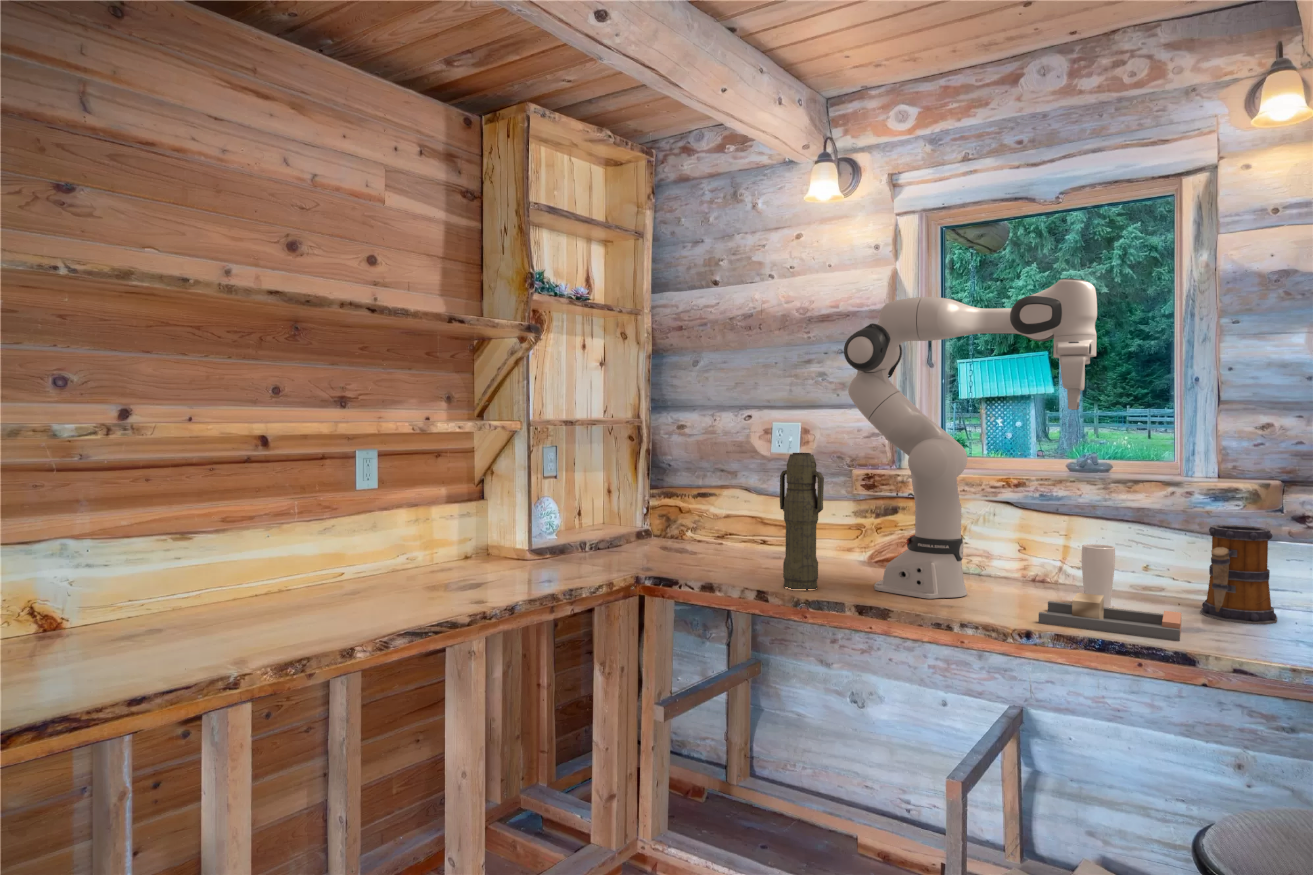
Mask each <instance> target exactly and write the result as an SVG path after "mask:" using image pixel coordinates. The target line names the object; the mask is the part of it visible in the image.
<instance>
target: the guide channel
mask: <svg viewBox="0 0 1313 875" xmlns="http://www.w3.org/2000/svg"><path fill="white" fill-rule="evenodd" d="M1038 624H1044V625H1052V626H1058V627H1059V626H1060V627H1067V628H1074V629H1075V628H1076V629H1083V630H1091V631H1100V632H1106V633H1112V634H1113V633H1114V634H1122V635H1130V636H1137V637H1146V638H1153V639H1161V640H1168V641H1177V642H1180V641H1181V633H1182V632H1181V630H1182V612H1179V611H1178V612H1177V611H1170V610H1164V611H1163V613H1160V612H1159V613H1158V612H1150V611H1149V612H1148V611H1142V610H1141V611H1140V610H1131V609H1124V608H1123V609H1122V608H1114V607H1107V608H1106V607H1104V616H1103V619H1095V618H1087V617H1079V616H1072V602H1062V601H1054V600H1049V601H1047V612H1045V611H1039V612H1038Z"/></svg>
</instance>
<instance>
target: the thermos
mask: <svg viewBox="0 0 1313 875" xmlns="http://www.w3.org/2000/svg"><path fill="white" fill-rule="evenodd" d="M787 459H788V460H787V461H786V462H787V463H786V469H785V470H782V471H781V473H780V475H779V508H780V510H782V512H783V521H784V523H785V557H784V560H783V562H782V564H783V565H782V566H783V568H782V570H783V572H782V577H783V587H784V586H785V587H788V588H791V589H806V590H808V589H816V588H817V589H818V579H819V562H818V559H817V524H818V521H819V514H820V513H821V512H822V511H823V510H824V485H825V484H824V483H825V482H824V481H825V478H824V475H823V474H822V472H820V471H817V463H816V459H815V455H814V454H812V453H811V452H792V453H791V454H789V456H788V458H787ZM785 476H786V477H785ZM786 483H787V484H786ZM816 484H817V488H816ZM786 485H787V487H786ZM817 589H816V590H817Z"/></svg>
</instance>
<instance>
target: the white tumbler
mask: <svg viewBox="0 0 1313 875" xmlns="http://www.w3.org/2000/svg"><path fill="white" fill-rule="evenodd" d="M1115 549H1116V547H1115V546H1113V545H1108V544H1099V543H1098V544H1097V543H1085V544H1082V546H1081V572H1082V587H1083V593H1085V594H1094V595H1104V607H1106V608H1112V607H1111V606H1112V595H1113V585H1114V579H1115V578H1114V577H1115V576H1114V575H1115V568H1116V566H1115V565H1116V550H1115Z"/></svg>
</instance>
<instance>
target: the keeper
mask: <svg viewBox="0 0 1313 875" xmlns="http://www.w3.org/2000/svg"><path fill="white" fill-rule="evenodd" d="M1071 601H1072V602H1071V604H1072V616H1079V617H1087V618H1095V619H1103V616H1104V595H1094V594H1085V593H1084V592H1077V593H1076V595H1075V596H1074V597H1073V598H1072V600H1071Z"/></svg>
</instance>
